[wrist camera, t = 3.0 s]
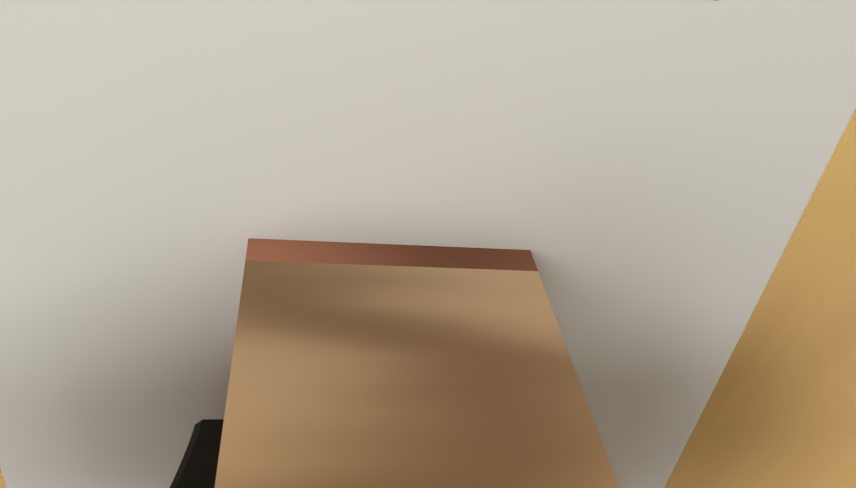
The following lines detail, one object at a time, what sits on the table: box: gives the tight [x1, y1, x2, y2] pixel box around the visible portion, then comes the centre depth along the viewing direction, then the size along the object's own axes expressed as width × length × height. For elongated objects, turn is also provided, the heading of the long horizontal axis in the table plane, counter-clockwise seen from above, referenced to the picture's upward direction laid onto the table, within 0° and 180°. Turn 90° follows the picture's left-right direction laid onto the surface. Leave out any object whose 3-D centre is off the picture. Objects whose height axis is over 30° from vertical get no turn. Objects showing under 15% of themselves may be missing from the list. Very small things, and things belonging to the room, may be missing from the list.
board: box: [0, 0, 856, 488], centre depth 10 cm, size 12×18×1 cm, turn 172°
